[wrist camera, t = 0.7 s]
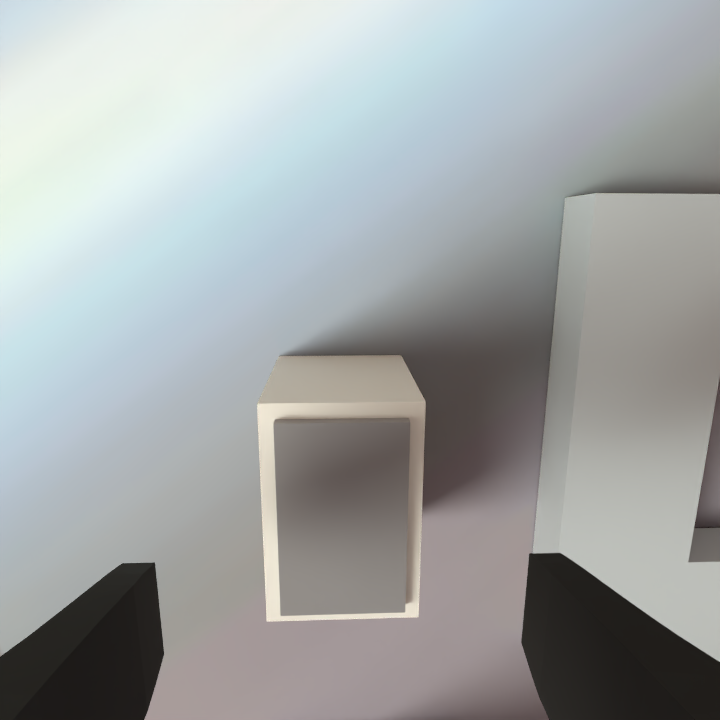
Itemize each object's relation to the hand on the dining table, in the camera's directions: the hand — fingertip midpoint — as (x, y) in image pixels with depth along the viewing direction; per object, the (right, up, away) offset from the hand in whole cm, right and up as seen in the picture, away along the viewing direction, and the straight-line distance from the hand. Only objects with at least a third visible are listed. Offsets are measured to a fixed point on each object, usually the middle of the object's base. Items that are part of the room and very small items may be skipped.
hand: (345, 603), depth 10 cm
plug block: (0, +2, +8) cm, 8 cm away
